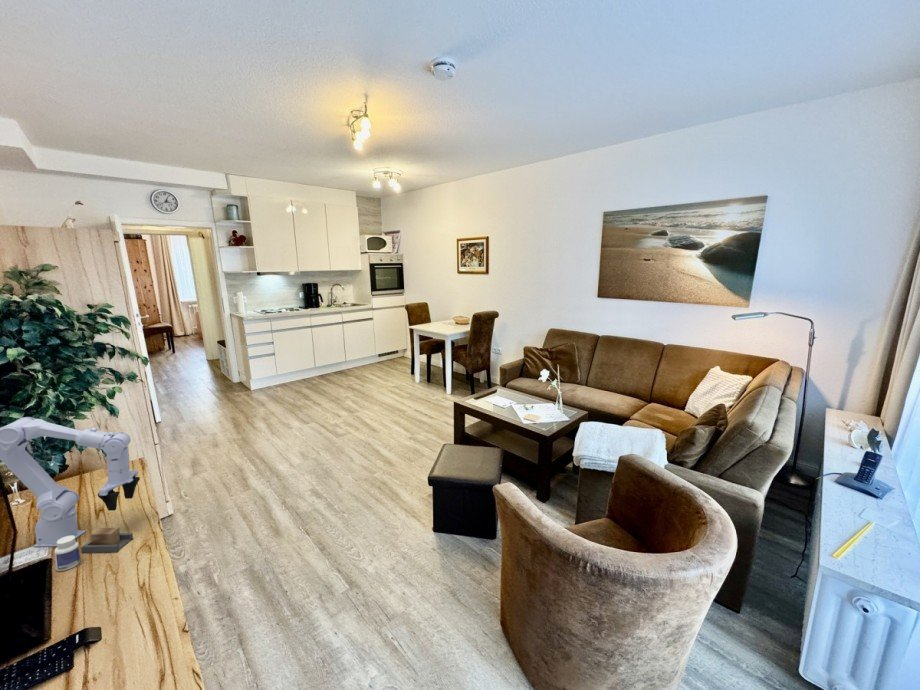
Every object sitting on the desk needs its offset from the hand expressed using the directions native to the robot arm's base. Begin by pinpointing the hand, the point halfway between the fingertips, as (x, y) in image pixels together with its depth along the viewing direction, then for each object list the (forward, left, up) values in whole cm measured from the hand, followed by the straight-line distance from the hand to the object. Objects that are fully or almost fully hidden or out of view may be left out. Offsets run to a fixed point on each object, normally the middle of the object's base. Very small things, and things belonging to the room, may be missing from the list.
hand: (120, 503), depth 132 cm
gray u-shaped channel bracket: (+2, -9, -10) cm, 14 cm away
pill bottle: (-2, -18, -10) cm, 21 cm away
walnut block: (+1, -9, -9) cm, 13 cm away
